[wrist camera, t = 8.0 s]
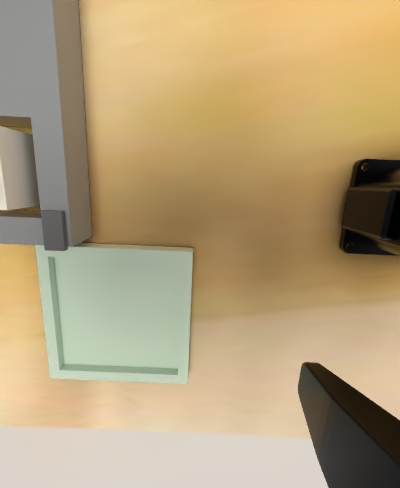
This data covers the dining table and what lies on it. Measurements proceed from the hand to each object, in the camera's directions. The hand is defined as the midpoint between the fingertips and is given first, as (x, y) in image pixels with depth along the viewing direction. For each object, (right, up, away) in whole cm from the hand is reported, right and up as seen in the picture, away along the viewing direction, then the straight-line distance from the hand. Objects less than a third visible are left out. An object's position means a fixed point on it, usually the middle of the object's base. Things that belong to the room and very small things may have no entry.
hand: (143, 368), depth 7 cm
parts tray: (-5, -2, +13) cm, 14 cm away
